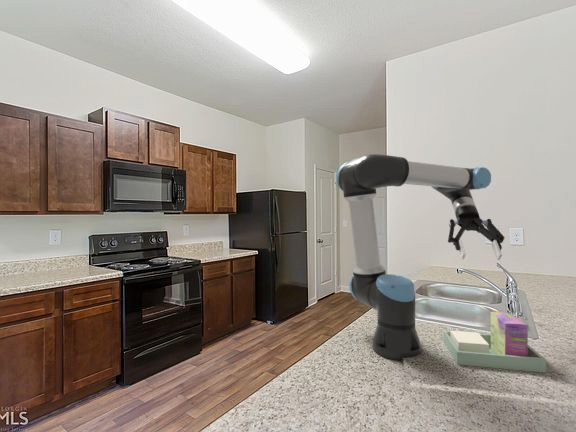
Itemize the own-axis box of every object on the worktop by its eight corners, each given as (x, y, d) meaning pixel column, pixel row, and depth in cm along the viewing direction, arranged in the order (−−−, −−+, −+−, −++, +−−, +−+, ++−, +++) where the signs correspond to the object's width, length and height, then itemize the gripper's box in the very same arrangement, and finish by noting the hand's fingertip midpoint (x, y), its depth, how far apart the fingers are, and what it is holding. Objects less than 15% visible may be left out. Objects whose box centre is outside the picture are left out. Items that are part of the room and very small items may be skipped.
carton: (458, 359, 89) (458, 342, 89) (450, 346, 98) (450, 330, 98) (489, 361, 87) (489, 344, 87) (478, 348, 96) (477, 332, 96)
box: (528, 366, 84) (528, 324, 84) (505, 364, 85) (504, 322, 85) (511, 350, 94) (510, 312, 94) (490, 348, 95) (489, 311, 95)
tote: (457, 367, 86) (457, 351, 86) (443, 344, 101) (443, 331, 101) (546, 376, 81) (546, 359, 81) (517, 350, 96) (517, 336, 96)
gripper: (496, 217, 117) (516, 264, 102) (432, 218, 123) (442, 262, 108) (501, 203, 112) (524, 250, 97) (435, 205, 118) (446, 249, 102)
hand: (481, 257), depth 102 cm, fingers open, 10 cm apart
